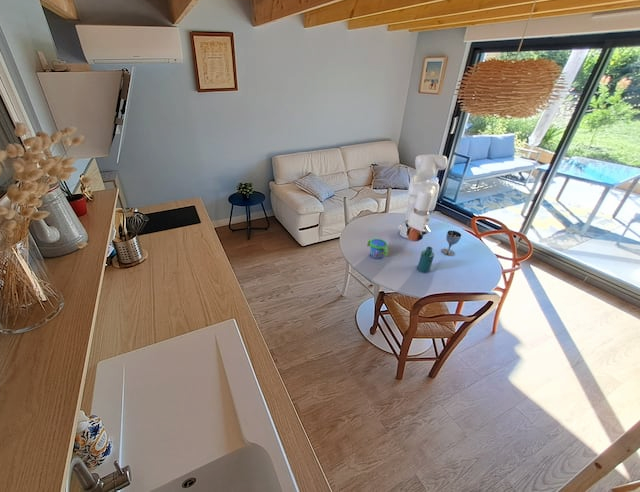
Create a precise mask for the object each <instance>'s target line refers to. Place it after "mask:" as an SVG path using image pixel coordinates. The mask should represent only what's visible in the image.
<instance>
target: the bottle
mask: <svg viewBox="0 0 640 492" xmlns="http://www.w3.org/2000/svg"><path fill="white" fill-rule="evenodd" d="M433 250H434V249H433V247H432V246H426V249H423V250H422V251H421V254H420V257H419V261H418V264H417V268H416V269H417V270H418V271H419V272H421V273H425V274H426V273H429V272H430V270H431V267H432V265H433V260H434V258H435V253H434V252H433Z"/></svg>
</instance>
